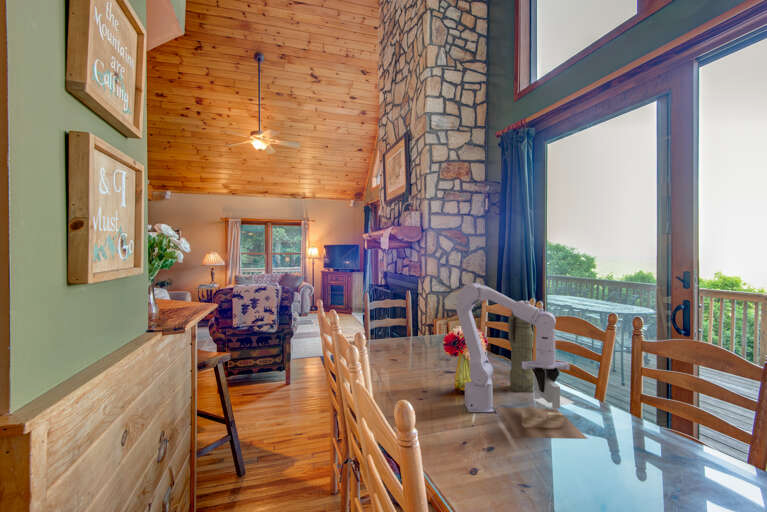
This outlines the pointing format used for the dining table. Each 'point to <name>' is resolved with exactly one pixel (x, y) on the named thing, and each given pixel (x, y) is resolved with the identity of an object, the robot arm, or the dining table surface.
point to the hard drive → (542, 401)
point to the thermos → (520, 353)
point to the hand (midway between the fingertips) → (545, 391)
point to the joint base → (539, 432)
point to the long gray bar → (549, 391)
